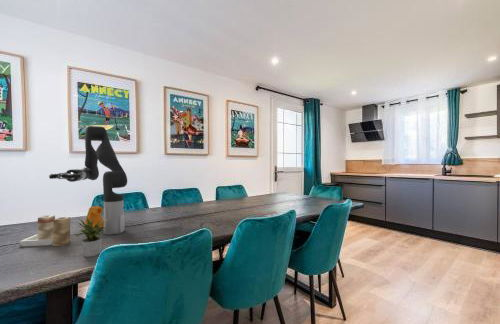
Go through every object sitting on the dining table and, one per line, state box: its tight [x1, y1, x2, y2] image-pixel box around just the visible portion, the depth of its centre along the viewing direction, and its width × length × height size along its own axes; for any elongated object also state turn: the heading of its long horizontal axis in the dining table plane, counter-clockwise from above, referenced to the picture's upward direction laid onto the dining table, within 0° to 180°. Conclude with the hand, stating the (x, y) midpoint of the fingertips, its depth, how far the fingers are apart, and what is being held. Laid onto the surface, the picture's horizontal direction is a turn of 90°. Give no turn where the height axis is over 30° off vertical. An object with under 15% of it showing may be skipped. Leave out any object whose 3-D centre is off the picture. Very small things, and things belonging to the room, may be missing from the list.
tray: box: [19, 233, 53, 248], centre depth 111 cm, size 13×13×2 cm
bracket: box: [83, 205, 104, 229], centre depth 137 cm, size 11×7×12 cm, turn 171°
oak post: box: [52, 216, 71, 247], centre depth 107 cm, size 4×4×12 cm
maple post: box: [37, 214, 56, 240], centre depth 111 cm, size 5×5×11 cm
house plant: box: [70, 216, 109, 258], centre depth 95 cm, size 14×14×16 cm
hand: (59, 176), depth 127 cm, fingers open, 8 cm apart
